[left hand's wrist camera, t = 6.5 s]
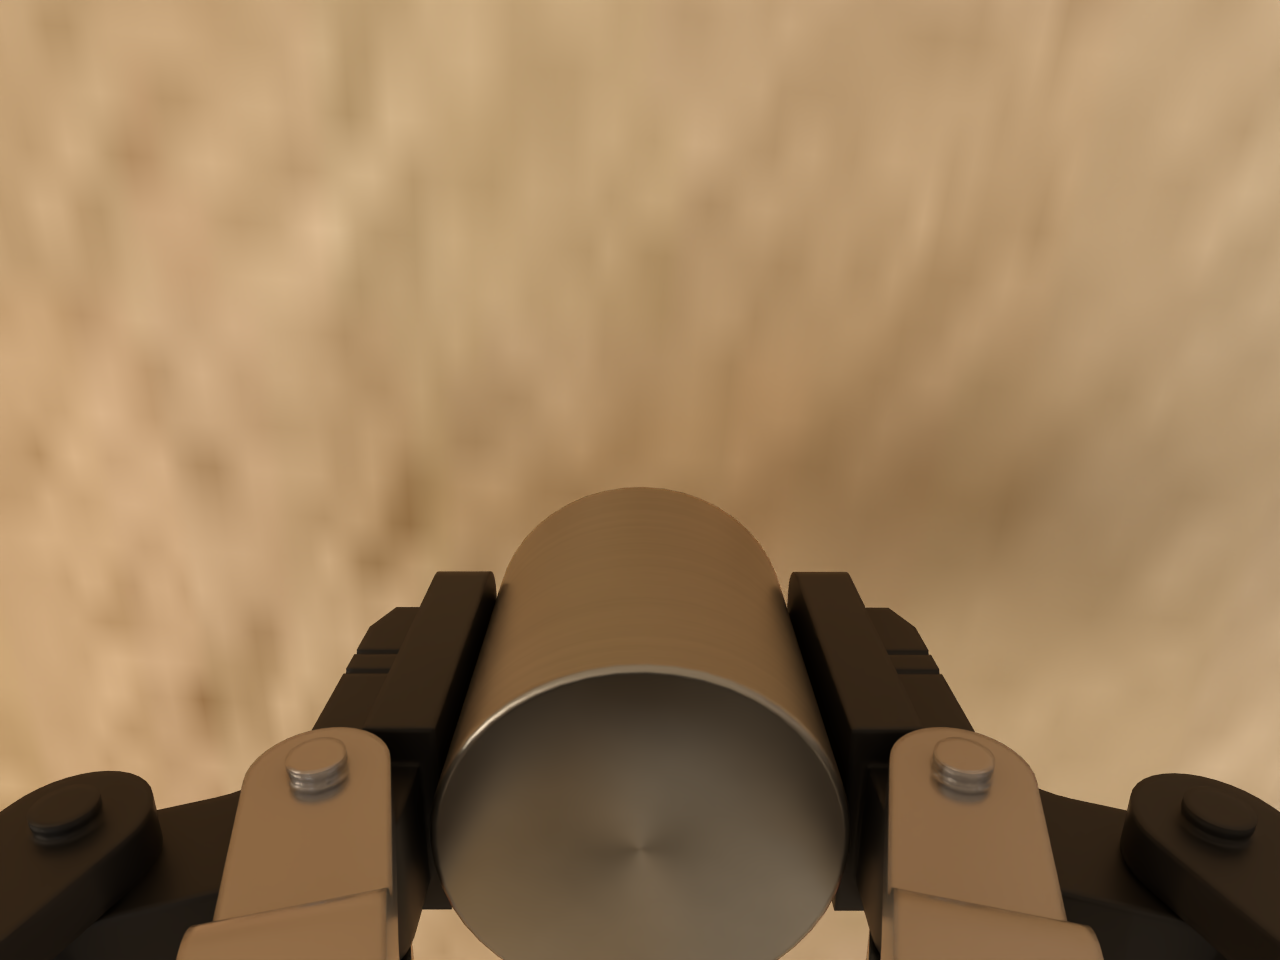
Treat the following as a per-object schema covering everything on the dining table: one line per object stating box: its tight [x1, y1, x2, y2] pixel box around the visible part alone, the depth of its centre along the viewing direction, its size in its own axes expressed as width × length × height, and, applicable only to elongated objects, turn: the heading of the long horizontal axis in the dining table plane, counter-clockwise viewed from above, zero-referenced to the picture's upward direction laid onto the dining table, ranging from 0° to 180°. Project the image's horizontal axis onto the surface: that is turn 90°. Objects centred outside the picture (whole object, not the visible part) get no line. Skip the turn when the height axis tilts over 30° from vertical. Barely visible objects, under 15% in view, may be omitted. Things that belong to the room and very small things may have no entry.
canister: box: [430, 487, 851, 960], centre depth 11 cm, size 4×4×4 cm
